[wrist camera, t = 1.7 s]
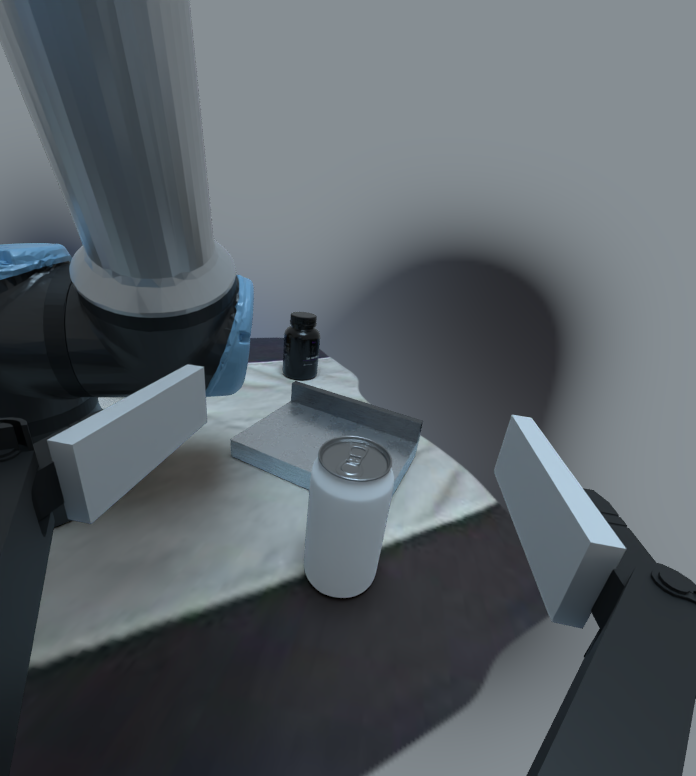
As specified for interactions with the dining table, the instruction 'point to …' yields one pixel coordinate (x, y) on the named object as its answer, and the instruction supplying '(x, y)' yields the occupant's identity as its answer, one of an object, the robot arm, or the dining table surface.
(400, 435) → the grey tray
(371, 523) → the can
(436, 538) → the dining table surface
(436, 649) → the dining table surface
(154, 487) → the dining table surface
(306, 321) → the supplement bottle
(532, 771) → the robot arm
